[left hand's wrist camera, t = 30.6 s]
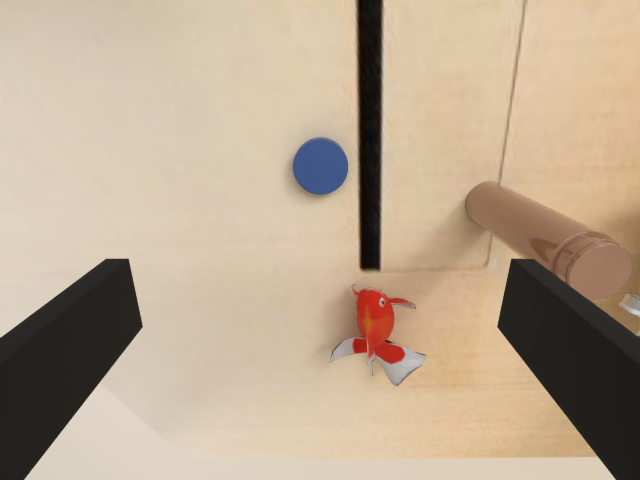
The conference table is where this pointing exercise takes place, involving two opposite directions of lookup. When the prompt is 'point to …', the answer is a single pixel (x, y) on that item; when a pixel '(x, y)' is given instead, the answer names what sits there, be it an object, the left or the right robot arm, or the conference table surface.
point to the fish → (379, 336)
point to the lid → (320, 166)
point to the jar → (551, 240)
